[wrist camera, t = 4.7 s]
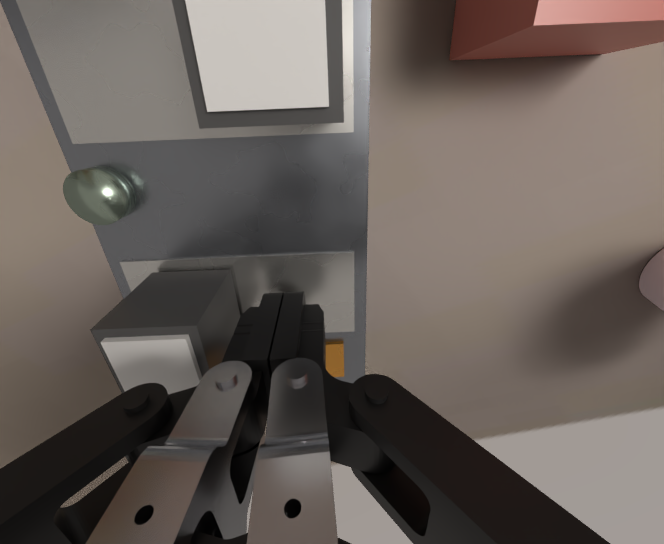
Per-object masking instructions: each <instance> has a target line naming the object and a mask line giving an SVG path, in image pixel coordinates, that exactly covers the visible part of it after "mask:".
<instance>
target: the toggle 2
mask: <svg viewBox="0 0 664 544" xmlns="http://www.w3.org/2000/svg"><path fill="white" fill-rule="evenodd" d="M172 4H173V8H174V13H175V18H176V22H177V27H178V31H179V36H180V41H181V45H182V50H183V55H184V59H185V64H186V69H187V73H188V78H189V83H190V87H191V92H192V97H193V101H194V106H195V111H196V115H197V120H198V125H199V129H204V128H228V127H252V126H276V125H300V124H323V123H344V95H343V37H342V0H172Z"/></svg>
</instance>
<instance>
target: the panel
mask: <svg viewBox="0 0 664 544" xmlns="http://www.w3.org/2000/svg"><path fill="white" fill-rule="evenodd" d="M0 2H1V4H2V7H3V9H4V12H5V14H6V16H7V19H8V21H9V24H10V26H11V28H12V31H13V33H14V36H15V38H16V40H17V43H18V45H19V48H20V50H21V53H22V55H23V57H24V60H25V62H26V65H27V67H28V69H29V72H30V74H31V77H32V79H33V81H34V84H35V86H36V89H37V91H38V94H39V96H40V98H41V101H42V103H43V106H44V108H45V110H46V113H47V115H48V118H49V120H50V123H51V125H52V127H53V130H54V132H55V135H56V137H57V139H58V142H59V144H60V147H61V149H62V151H63V154H64V156H65V159H66V161H67V164H68V166H69V168H70V171H71V174H69V175H68V176H67V177H66V179H65V181H64V185H63V192H64V196H65V199H66V201H67V203H68V205H69V206H70V208H71V209H72V210H73V211H74V212H75V213H76V214H77V215H78V216H79V217H81V218H82V219H84V220H85V221H88V222H90V223H92V224H93V226H94V229H95V231H96V233H97V236H98V238H99V241H100V243H101V246H102V248H103V250H104V253H105V255H106V258H107V260H108V262H109V265H110V267H111V270H112V272H113V275H114V277H115V279H116V282H117V284H118V287H119V289H120V291H121V294H122V296H123V299H124V298H125V297H126V296H127V295H129V294H130V293H131V292H132V291H133V290H134V289H135V288H136V287H137V286H138V285H139V284H140V283H141V282H143V281H144V280H145V279H146V278H147V277H148V276H149V275H150V274H151V273H153V272H177V271H201V270H225V269H230V270H231V275H232V279H233V284H234V289H235V293H236V298H237V303H238V307H239V312H240V316H241V315H242V314H243V313H244V312H245V311H246V310H247V309H248V308H249V307H259V305H260V302H261V299H262V296H263V294H264V293H280V292H284V293H285V292H302V291H304V292H305V300H306V304H319V306H320V307H321V309H322V310H323V311H324V324H325V340H326V370H327V372H328V373H329V374H330V375H332V376H333V377H335V378H336V379H338V380H341V381H345V382H349V383H354V382H355V381H356V380H357V379H358V378H360V377H362V376H365V334H366V275H367V215H368V155H369V96H370V36H371V0H342V37H343V95H344V123H323V124H300V125H276V126H252V127H228V128H204V129H199V125H198V120H197V115H196V111H195V106H194V101H193V97H192V92H191V87H190V83H189V78H188V73H187V69H186V64H185V59H184V55H183V50H182V45H181V41H180V36H179V31H178V27H177V22H176V18H175V13H174V8H173V4H172V0H0Z"/></svg>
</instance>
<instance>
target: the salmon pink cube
mask: <svg viewBox="0 0 664 544" xmlns="http://www.w3.org/2000/svg"><path fill="white" fill-rule="evenodd" d="M663 41H664V0H456V7H455V16H454V24H453V33H452V42H451V50H450V59H449V60H473V59H497V58H520V57H544V56H568V55H592V54H606V53H611V52H615V51H620V50H625V49H630V48H635V47H639V46H644V45H649V44H654V43H659V42H663Z"/></svg>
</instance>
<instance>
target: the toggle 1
mask: <svg viewBox="0 0 664 544" xmlns="http://www.w3.org/2000/svg"><path fill="white" fill-rule="evenodd" d="M239 319H240V312H239V307H238V303H237V298H236V293H235V289H234V284H233V279H232V275H231V270H230V269H225V270H201V271H177V272H153V273H151V274H150V275H149V276H148V277H147V278H146V279H145V280H144V281H143V282H141V283H140V284H139V285H138V286H137V287H136V288H135V289H134V290H133V291H132V292H131V293H130V294H129V295H127V296H126V297H125V298H124V299H123V300H122V301H121V302H120V303H119V304H118V305H117V306H116V307H115V308H113V309H112V310H111V311H110V312H109V313H108V314H107V315H106V316H105V317H104V318H103V319H102V320H100V321H99V322H98V323H97V324H96V325H95V326H94V327H93V328H92V329H91V332H92V334H93V336H94V338H95V340H96V342H97V344H98V346H99V348H100V350H101V352H102V354H103V356H104V358H105V360H106V362H107V364H108V366H109V368H110V370H111V372H112V374H113V376H114V378H115V380H116V382H117V384H118V386H119V388H120V390H121V392H122V393H124V392H125V391H127V390H129V389H131V388H133V387H135V386H138V385H141V384H145V383H159V384H161V385H163V386H164V387H165V388H166V390H167V392H168V394H172V393H175V392H179V391H182V390H186V389H189V388H192V387H195V386H197V385H198V384H199V382H200V380H201V379H202V377H203V376H204V374H205V373H206V372H207V371H208V370H210V369H211V368H212V367H214V366H216V365H218V364H220V363H221V362H222V360H223V357H224V355H225V353H226V350H227V348H228V345H229V343H230V340H231V338H232V336H233V335H234V331H235V328H236V327H237V324H238V321H239Z"/></svg>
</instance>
